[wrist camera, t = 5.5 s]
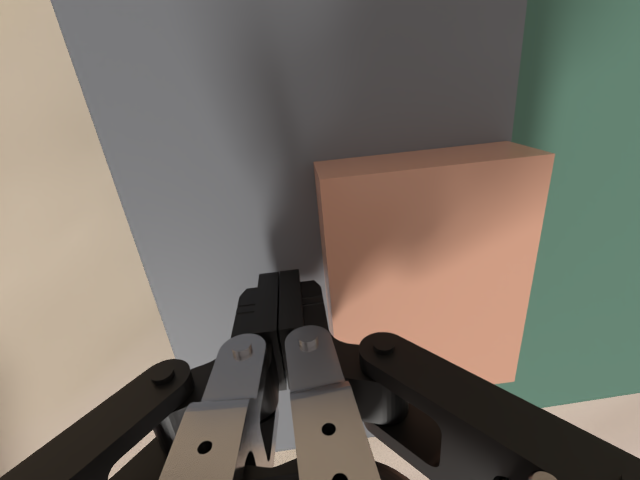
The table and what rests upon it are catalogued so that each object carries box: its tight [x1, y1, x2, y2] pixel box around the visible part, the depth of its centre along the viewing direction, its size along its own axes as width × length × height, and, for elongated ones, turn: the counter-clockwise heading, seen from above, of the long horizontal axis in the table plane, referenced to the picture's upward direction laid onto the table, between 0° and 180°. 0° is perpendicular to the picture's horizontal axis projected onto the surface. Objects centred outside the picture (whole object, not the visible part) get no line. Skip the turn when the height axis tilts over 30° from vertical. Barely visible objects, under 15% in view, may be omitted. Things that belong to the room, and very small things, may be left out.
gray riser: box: [51, 0, 527, 452], centre depth 16 cm, size 20×14×3 cm
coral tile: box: [313, 141, 555, 384], centre depth 13 cm, size 9×7×2 cm
